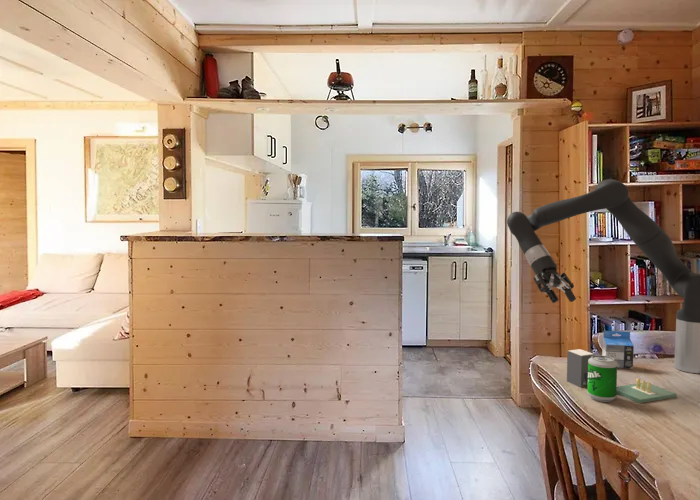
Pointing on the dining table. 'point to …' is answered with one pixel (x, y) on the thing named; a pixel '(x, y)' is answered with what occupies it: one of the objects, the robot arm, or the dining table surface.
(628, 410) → the dining table surface
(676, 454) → the dining table surface
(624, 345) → the blue retail box
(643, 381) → the board
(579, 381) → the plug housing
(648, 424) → the dining table surface
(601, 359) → the soda can
